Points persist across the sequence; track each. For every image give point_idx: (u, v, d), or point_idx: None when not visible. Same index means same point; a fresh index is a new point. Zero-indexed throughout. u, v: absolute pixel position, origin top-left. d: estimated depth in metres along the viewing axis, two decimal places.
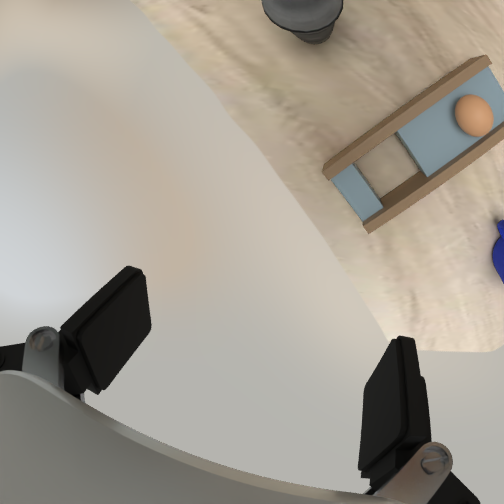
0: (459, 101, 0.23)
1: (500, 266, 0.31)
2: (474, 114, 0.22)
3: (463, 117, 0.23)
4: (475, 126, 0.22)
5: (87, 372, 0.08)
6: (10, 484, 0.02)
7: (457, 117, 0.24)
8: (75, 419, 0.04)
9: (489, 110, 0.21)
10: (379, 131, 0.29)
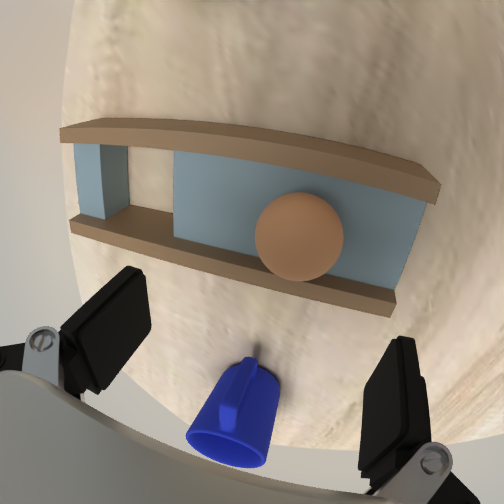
0: (291, 195, 0.15)
1: (212, 392, 0.29)
2: (279, 240, 0.14)
3: (262, 223, 0.15)
4: (265, 256, 0.15)
5: (87, 372, 0.08)
6: (10, 484, 0.02)
7: (262, 212, 0.16)
8: (75, 419, 0.04)
9: (321, 260, 0.14)
10: (138, 130, 0.17)
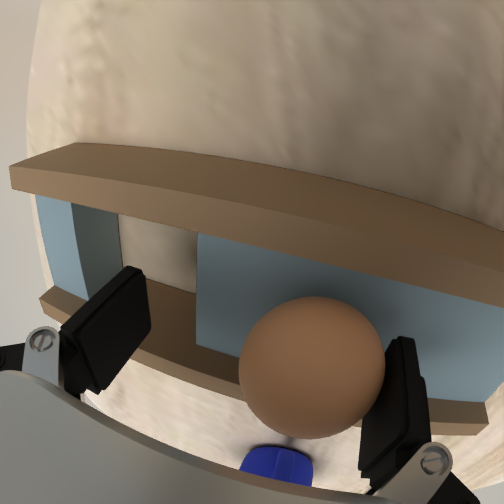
0: (323, 301, 0.09)
1: None
2: (250, 332, 0.10)
3: None
4: None
5: (87, 372, 0.08)
6: (10, 484, 0.02)
7: None
8: (75, 419, 0.04)
9: (251, 401, 0.08)
10: (130, 186, 0.09)
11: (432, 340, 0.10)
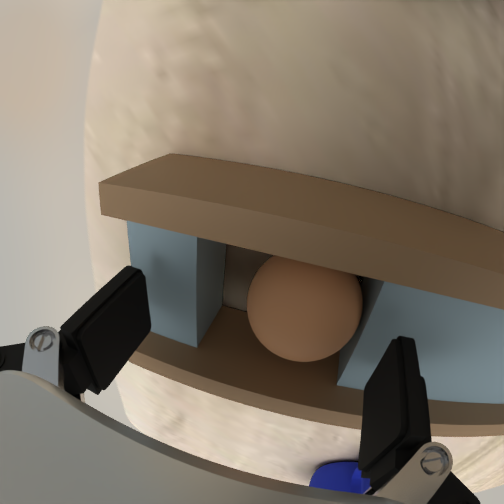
0: (320, 269, 0.11)
1: None
2: (361, 310, 0.11)
3: (342, 322, 0.10)
4: (347, 341, 0.11)
5: (87, 372, 0.08)
6: (10, 484, 0.02)
7: (313, 322, 0.10)
8: (75, 419, 0.04)
9: None
10: (348, 236, 0.08)
11: None
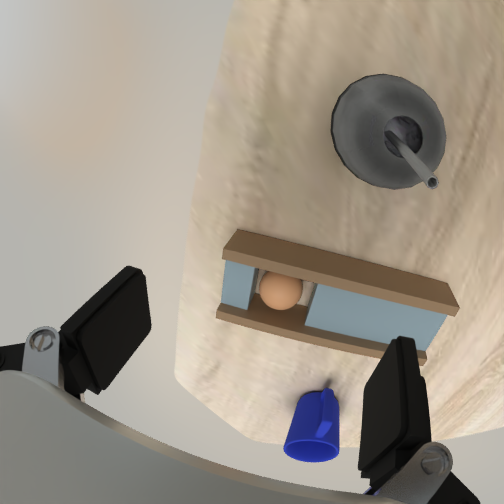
0: None
1: (299, 413, 0.40)
2: (295, 295, 0.32)
3: (283, 294, 0.31)
4: (288, 305, 0.32)
5: (87, 372, 0.08)
6: (10, 484, 0.02)
7: (272, 289, 0.31)
8: (75, 419, 0.04)
9: None
10: (303, 270, 0.29)
11: (396, 319, 0.30)
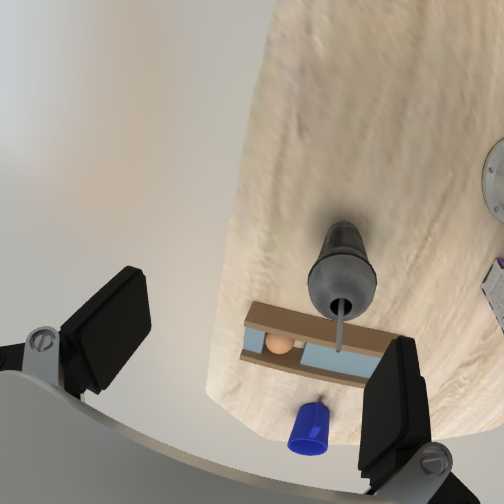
0: None
1: (299, 420, 0.55)
2: (286, 346, 0.46)
3: (277, 345, 0.46)
4: (280, 352, 0.46)
5: (87, 372, 0.08)
6: (10, 484, 0.02)
7: (271, 341, 0.46)
8: (75, 419, 0.04)
9: None
10: (297, 334, 0.43)
11: (363, 362, 0.44)
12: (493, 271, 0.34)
